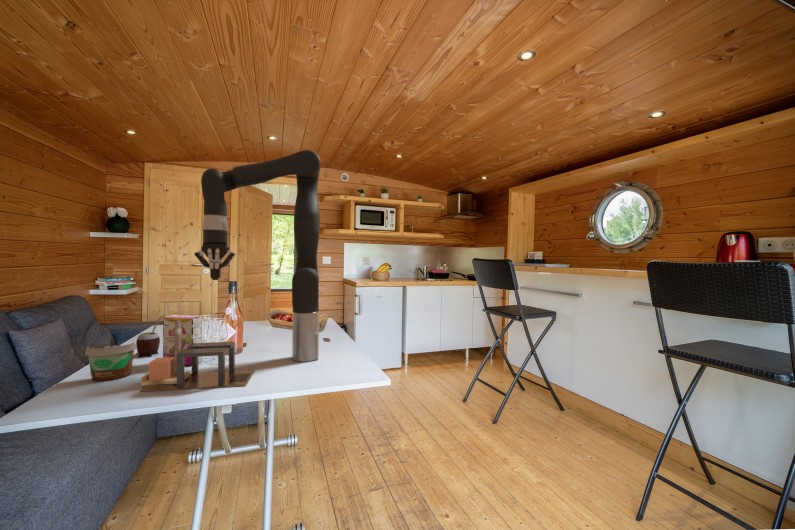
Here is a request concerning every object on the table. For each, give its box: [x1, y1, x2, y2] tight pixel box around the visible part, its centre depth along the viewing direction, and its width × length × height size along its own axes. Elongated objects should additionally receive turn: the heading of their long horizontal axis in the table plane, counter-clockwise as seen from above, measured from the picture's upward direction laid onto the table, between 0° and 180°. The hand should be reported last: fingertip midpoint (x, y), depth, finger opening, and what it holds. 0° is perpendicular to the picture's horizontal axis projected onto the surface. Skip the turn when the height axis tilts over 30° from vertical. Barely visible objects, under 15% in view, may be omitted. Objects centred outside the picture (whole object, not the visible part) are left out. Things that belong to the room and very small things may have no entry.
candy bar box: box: [162, 314, 203, 367], centre depth 119 cm, size 11×5×16 cm, turn 84°
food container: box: [84, 341, 137, 383], centre depth 104 cm, size 12×6×10 cm, turn 117°
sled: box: [140, 321, 191, 386], centre depth 101 cm, size 10×7×17 cm
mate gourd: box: [135, 314, 166, 358], centre depth 129 cm, size 8×8×15 cm
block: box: [148, 356, 175, 380], centre depth 101 cm, size 5×5×5 cm
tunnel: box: [139, 341, 256, 393], centre depth 103 cm, size 27×13×10 cm, turn 101°
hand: (215, 279), depth 119 cm, fingers closed
